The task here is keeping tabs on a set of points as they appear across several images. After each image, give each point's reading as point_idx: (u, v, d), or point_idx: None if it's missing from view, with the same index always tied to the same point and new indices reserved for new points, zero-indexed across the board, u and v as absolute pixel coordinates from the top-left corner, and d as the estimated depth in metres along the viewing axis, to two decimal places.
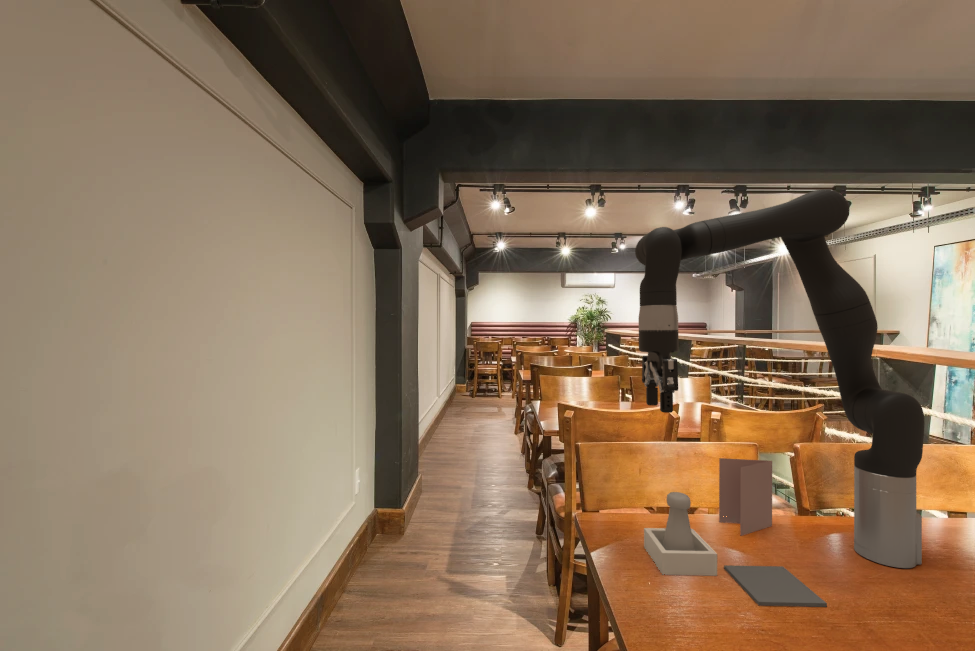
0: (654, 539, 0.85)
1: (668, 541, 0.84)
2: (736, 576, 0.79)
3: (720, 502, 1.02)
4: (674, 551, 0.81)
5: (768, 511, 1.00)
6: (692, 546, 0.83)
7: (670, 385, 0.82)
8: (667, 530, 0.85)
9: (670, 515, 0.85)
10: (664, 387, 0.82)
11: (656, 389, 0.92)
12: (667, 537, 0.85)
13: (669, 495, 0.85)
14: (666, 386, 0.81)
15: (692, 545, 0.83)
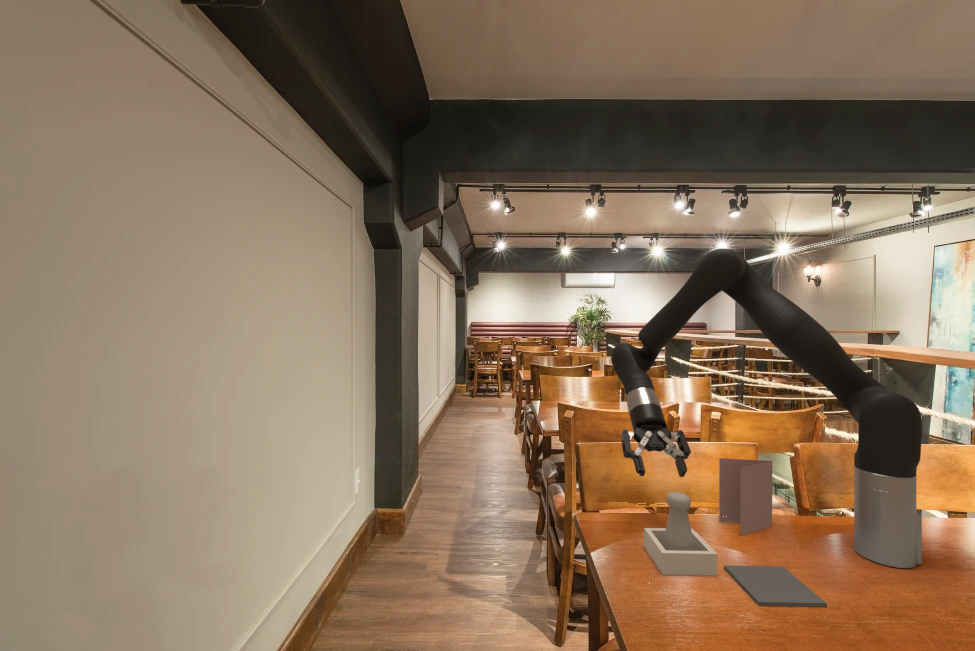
0: (654, 539, 0.85)
1: (668, 541, 0.84)
2: (736, 576, 0.79)
3: (720, 502, 1.02)
4: (674, 551, 0.81)
5: (768, 511, 1.00)
6: (692, 546, 0.83)
7: (625, 451, 0.98)
8: (667, 530, 0.85)
9: (670, 515, 0.85)
10: None
11: (678, 458, 0.95)
12: (667, 537, 0.85)
13: (669, 495, 0.85)
14: (623, 454, 0.98)
15: (692, 545, 0.83)
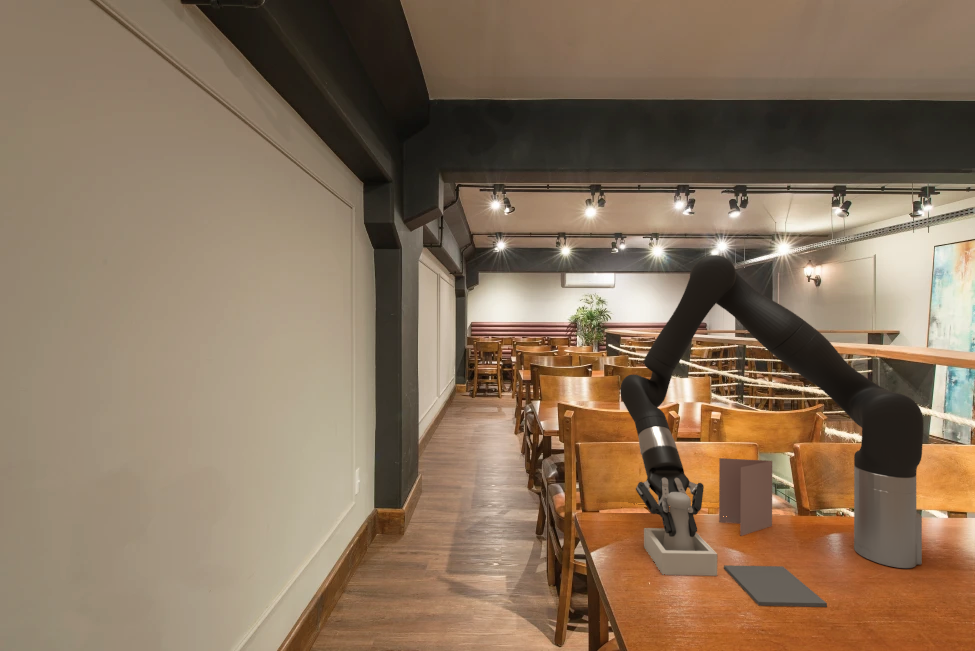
0: (654, 539, 0.85)
1: (668, 541, 0.84)
2: (736, 576, 0.79)
3: (720, 502, 1.02)
4: (674, 551, 0.81)
5: (768, 511, 1.00)
6: (692, 546, 0.83)
7: (652, 506, 0.87)
8: None
9: None
10: None
11: None
12: (667, 537, 0.85)
13: (669, 495, 0.85)
14: (650, 509, 0.88)
15: (692, 545, 0.83)
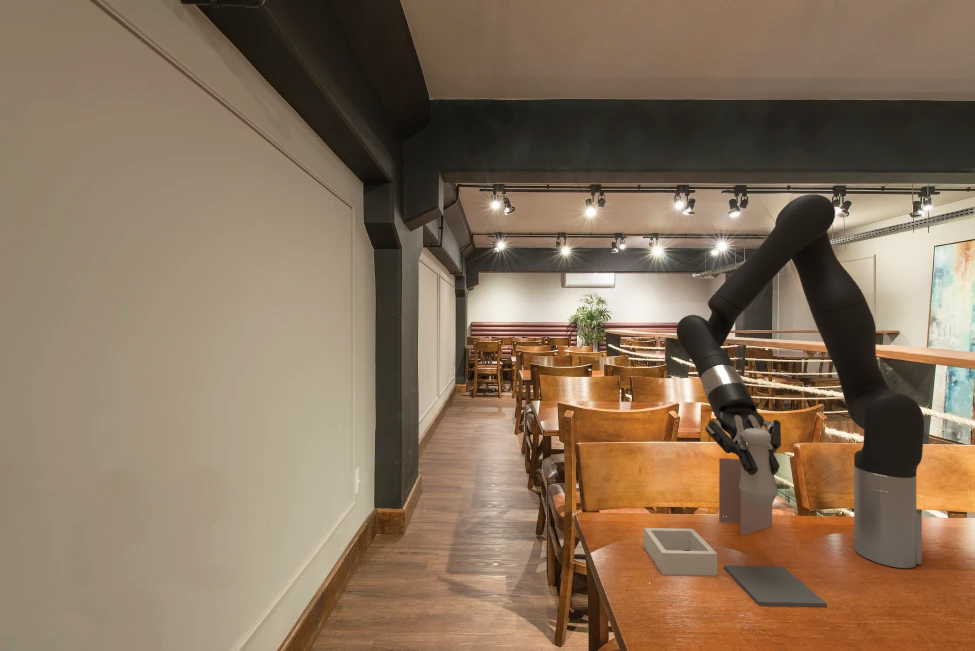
0: (654, 539, 0.85)
1: (748, 480, 0.77)
2: (736, 576, 0.79)
3: (720, 502, 1.02)
4: (674, 551, 0.81)
5: (768, 511, 1.00)
6: (774, 484, 0.77)
7: (726, 445, 0.81)
8: None
9: None
10: None
11: None
12: (745, 476, 0.78)
13: (746, 431, 0.79)
14: (724, 448, 0.81)
15: (774, 483, 0.77)
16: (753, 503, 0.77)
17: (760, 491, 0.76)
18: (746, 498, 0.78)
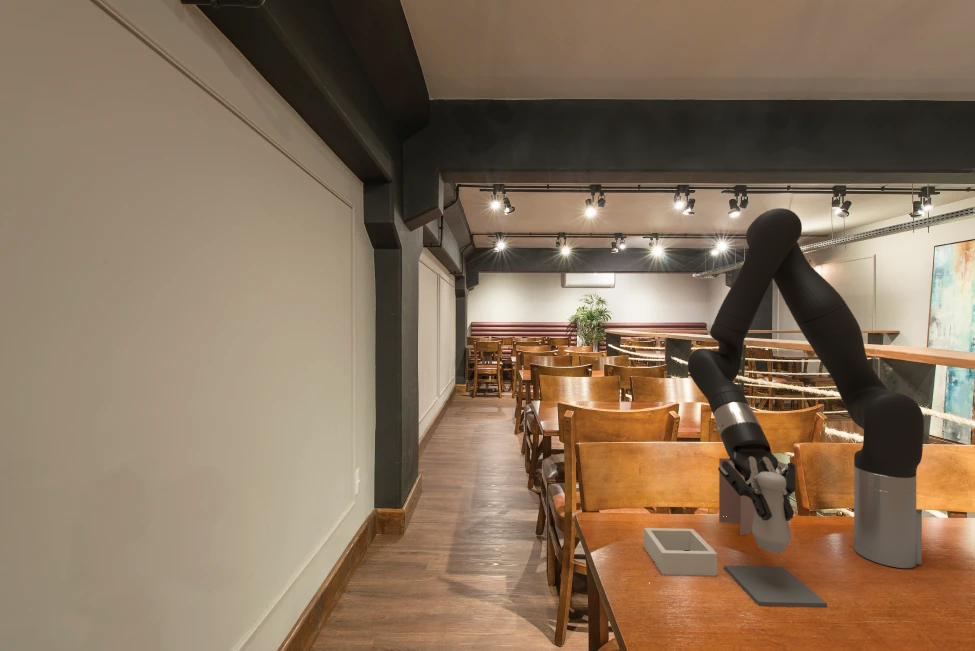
0: (654, 539, 0.85)
1: (761, 525, 0.76)
2: (736, 576, 0.79)
3: (720, 502, 1.02)
4: (674, 551, 0.81)
5: None
6: (788, 531, 0.75)
7: (739, 487, 0.79)
8: None
9: None
10: None
11: None
12: (759, 521, 0.77)
13: (761, 475, 0.77)
14: (737, 490, 0.80)
15: (788, 530, 0.75)
16: (766, 549, 0.76)
17: (774, 538, 0.75)
18: (758, 543, 0.77)
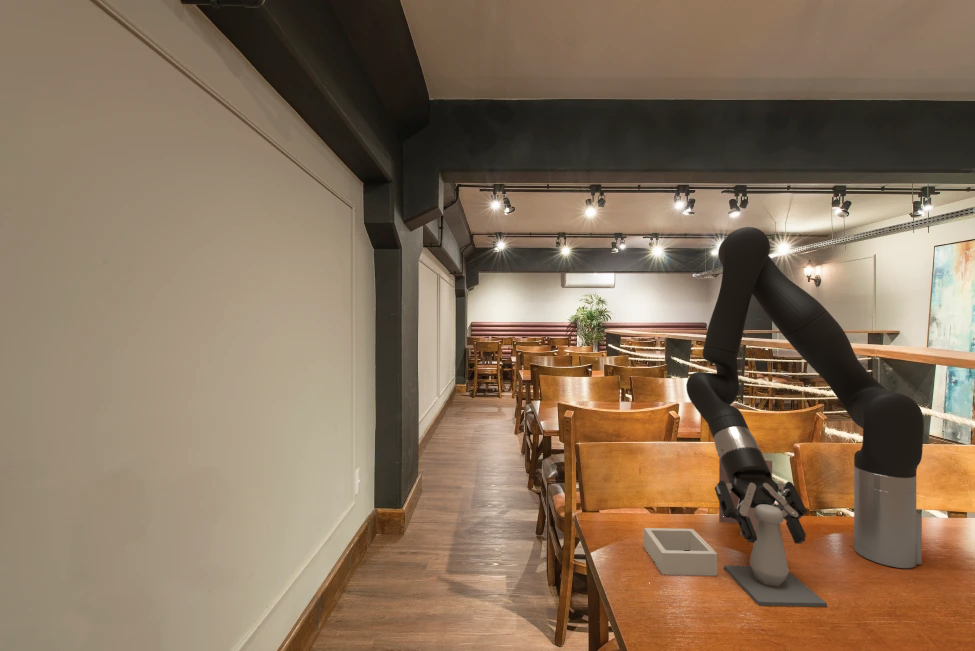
0: (654, 539, 0.85)
1: (759, 558, 0.77)
2: (736, 576, 0.79)
3: None
4: (674, 551, 0.81)
5: None
6: (786, 564, 0.76)
7: (726, 509, 0.80)
8: (756, 546, 0.78)
9: (760, 530, 0.78)
10: None
11: (791, 520, 0.77)
12: (756, 554, 0.77)
13: (758, 508, 0.78)
14: (723, 512, 0.80)
15: (786, 563, 0.76)
16: (764, 582, 0.76)
17: (771, 572, 0.75)
18: (756, 576, 0.78)
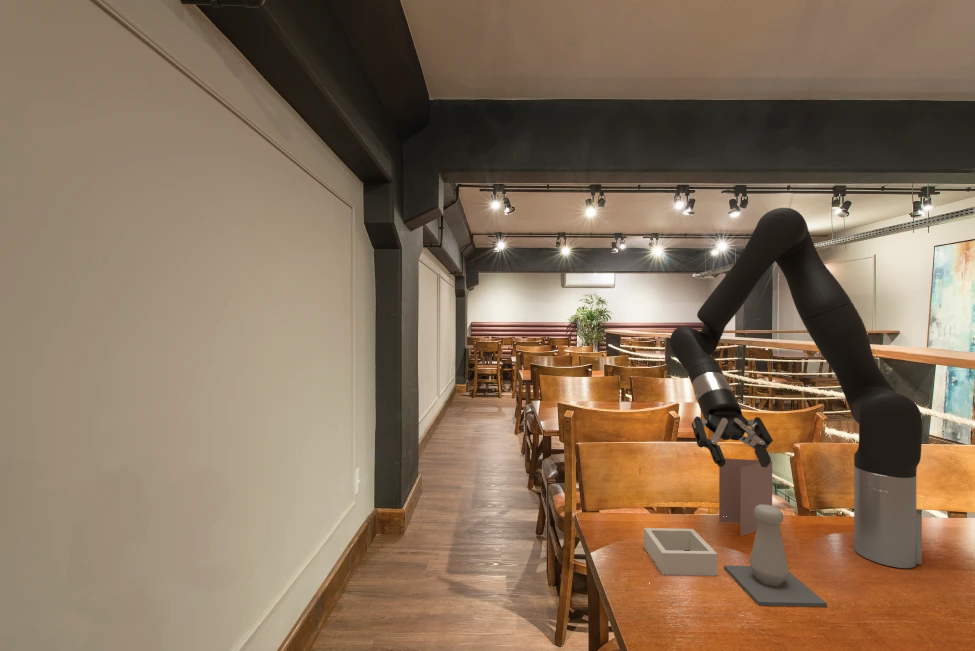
0: (654, 539, 0.85)
1: (759, 559, 0.77)
2: (736, 576, 0.79)
3: (720, 502, 1.02)
4: (674, 551, 0.81)
5: None
6: (786, 564, 0.76)
7: (699, 440, 0.90)
8: (756, 546, 0.78)
9: (760, 530, 0.78)
10: None
11: (759, 447, 0.87)
12: (756, 554, 0.77)
13: (758, 508, 0.78)
14: (697, 443, 0.90)
15: (786, 563, 0.76)
16: (764, 582, 0.76)
17: (771, 572, 0.75)
18: (756, 576, 0.78)
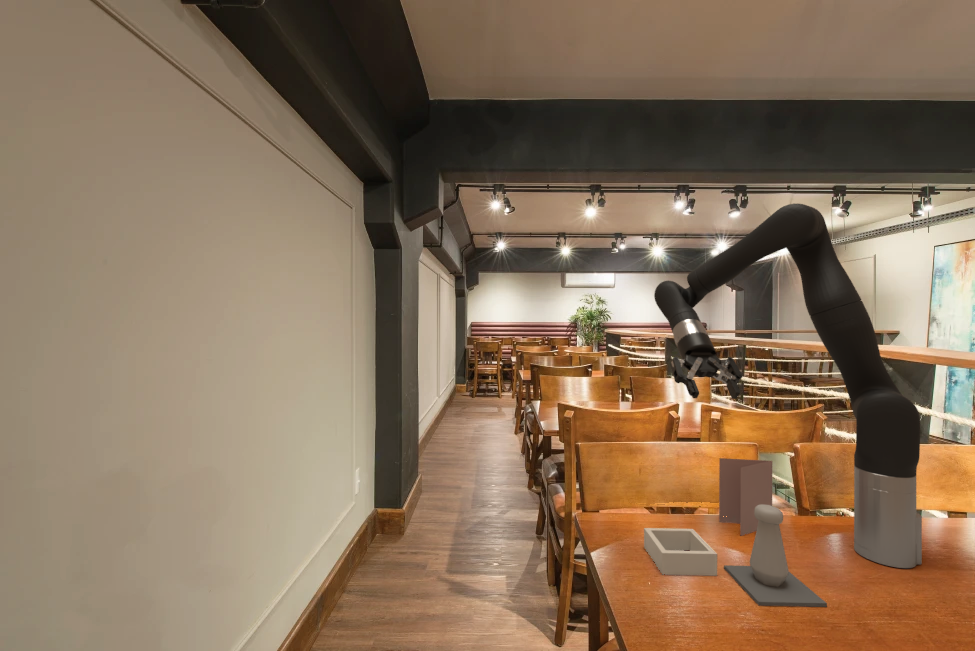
0: (654, 539, 0.85)
1: (759, 559, 0.77)
2: (736, 576, 0.79)
3: (720, 502, 1.02)
4: (674, 551, 0.81)
5: None
6: (786, 564, 0.76)
7: None
8: (756, 547, 0.78)
9: (760, 530, 0.78)
10: None
11: (730, 382, 0.96)
12: (756, 554, 0.77)
13: (758, 508, 0.78)
14: (675, 379, 0.99)
15: (786, 563, 0.76)
16: (764, 582, 0.76)
17: (771, 572, 0.75)
18: (756, 576, 0.78)
